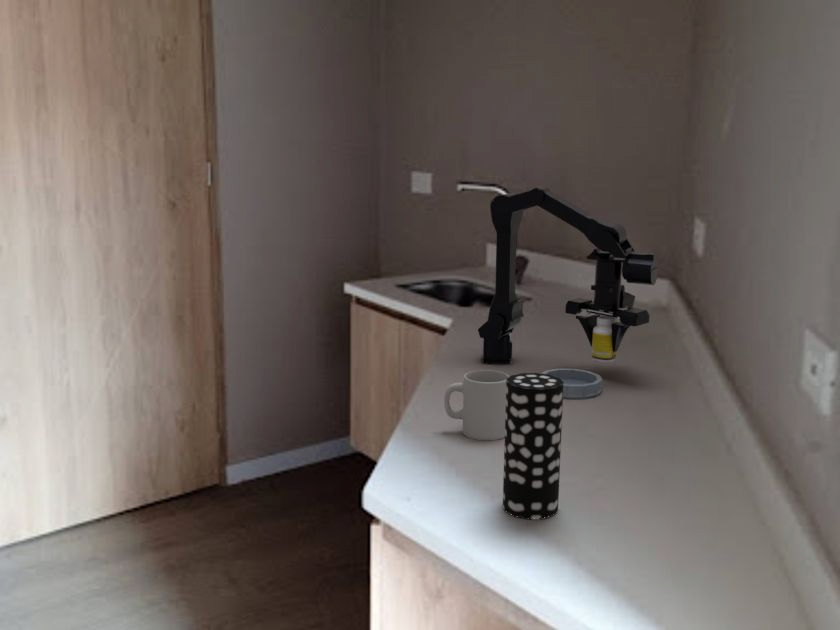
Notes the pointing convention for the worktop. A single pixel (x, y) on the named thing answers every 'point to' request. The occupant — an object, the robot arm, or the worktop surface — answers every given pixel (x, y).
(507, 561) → the worktop surface
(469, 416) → the mug
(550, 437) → the white-spotted black cylinder
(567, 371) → the round dish
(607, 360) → the supplement bottle
